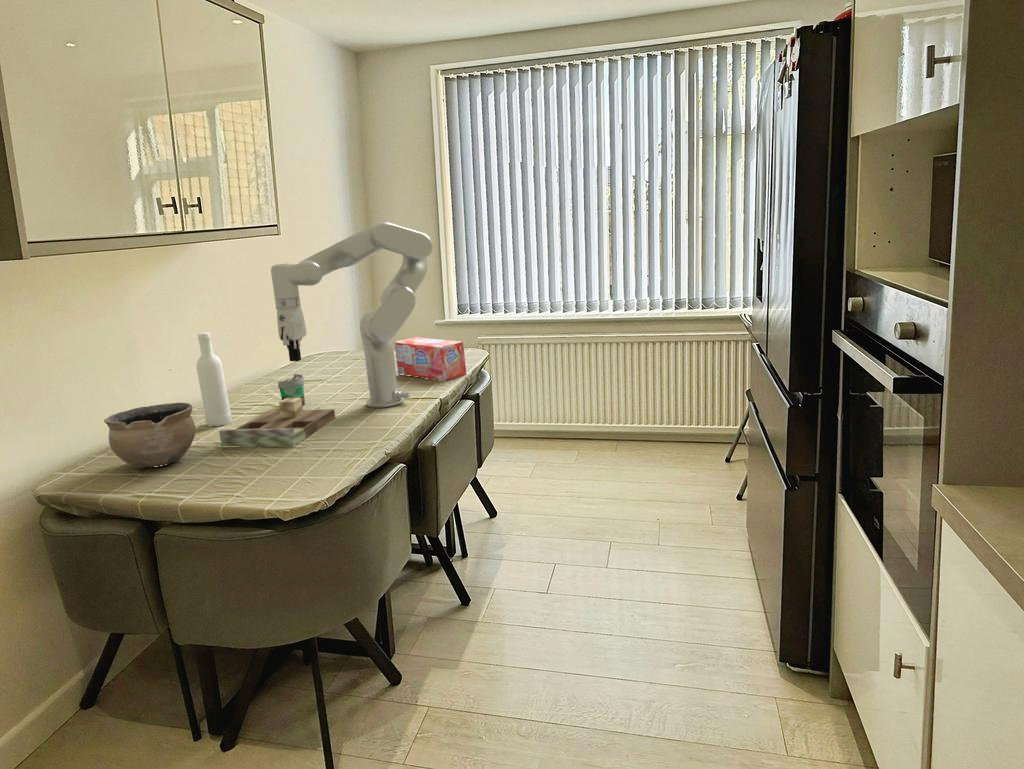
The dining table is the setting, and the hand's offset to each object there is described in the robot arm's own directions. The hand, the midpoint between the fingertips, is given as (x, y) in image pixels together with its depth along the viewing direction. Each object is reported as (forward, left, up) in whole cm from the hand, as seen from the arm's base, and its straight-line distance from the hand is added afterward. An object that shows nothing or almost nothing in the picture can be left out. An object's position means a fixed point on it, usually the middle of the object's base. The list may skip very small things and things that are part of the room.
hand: (295, 360), depth 241 cm
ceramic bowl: (+23, +43, -19) cm, 52 cm away
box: (-26, -56, -19) cm, 65 cm away
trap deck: (0, +16, -19) cm, 25 cm away
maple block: (0, +8, -16) cm, 18 cm away
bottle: (+28, +5, -19) cm, 34 cm away
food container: (+10, -15, -19) cm, 26 cm away
